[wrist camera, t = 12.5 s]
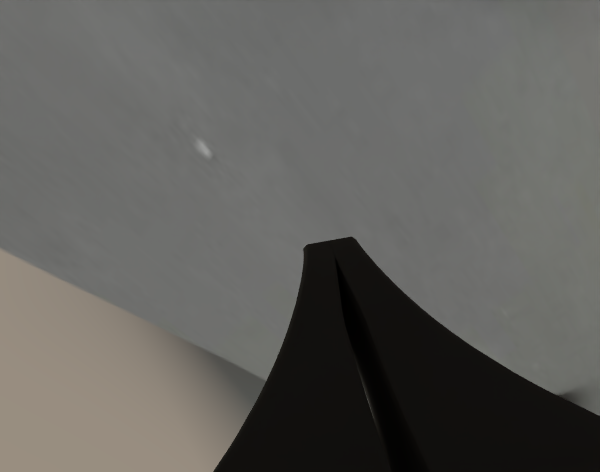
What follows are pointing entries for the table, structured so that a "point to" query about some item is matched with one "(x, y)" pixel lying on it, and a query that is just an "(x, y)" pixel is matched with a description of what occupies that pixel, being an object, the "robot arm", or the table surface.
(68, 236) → the table surface
